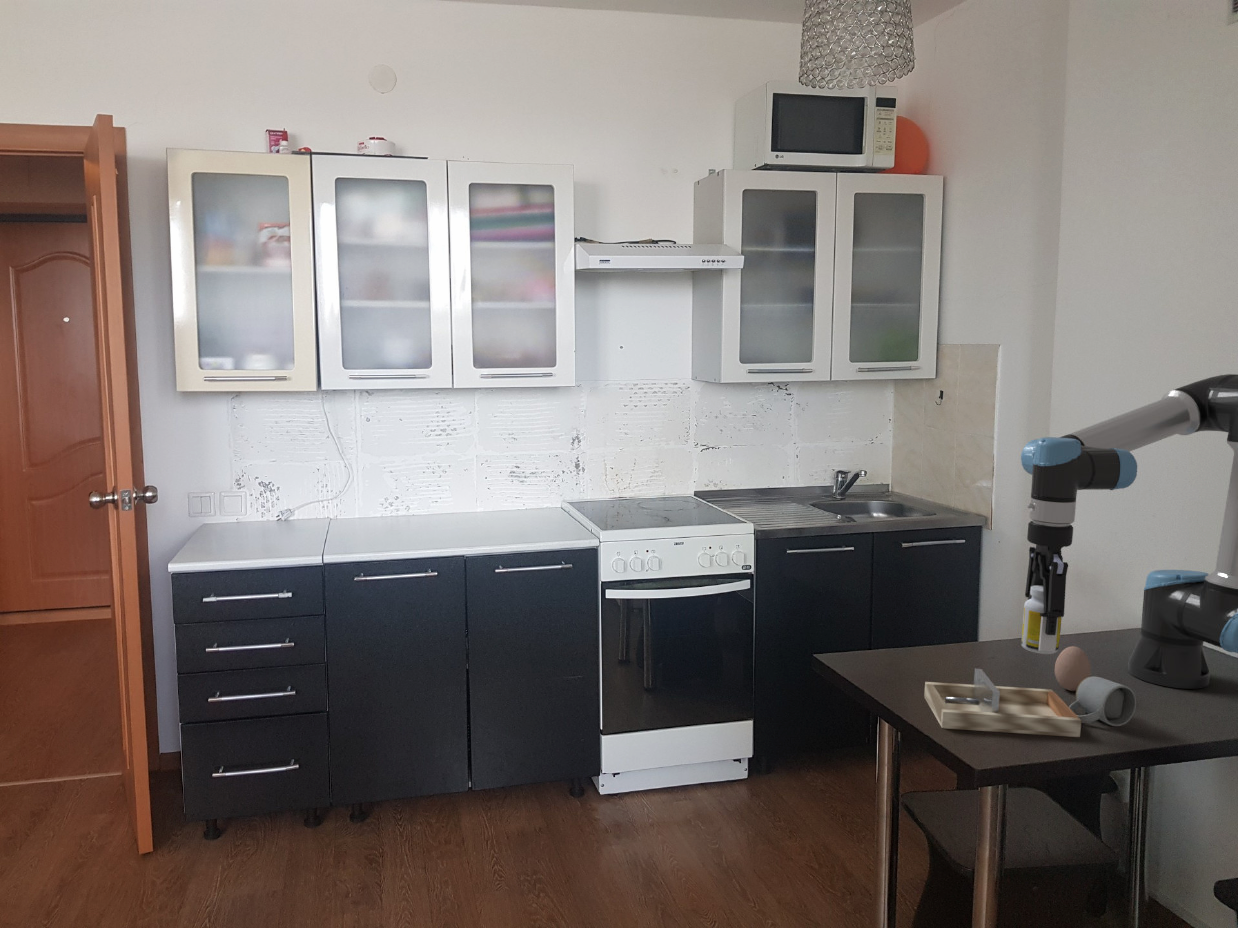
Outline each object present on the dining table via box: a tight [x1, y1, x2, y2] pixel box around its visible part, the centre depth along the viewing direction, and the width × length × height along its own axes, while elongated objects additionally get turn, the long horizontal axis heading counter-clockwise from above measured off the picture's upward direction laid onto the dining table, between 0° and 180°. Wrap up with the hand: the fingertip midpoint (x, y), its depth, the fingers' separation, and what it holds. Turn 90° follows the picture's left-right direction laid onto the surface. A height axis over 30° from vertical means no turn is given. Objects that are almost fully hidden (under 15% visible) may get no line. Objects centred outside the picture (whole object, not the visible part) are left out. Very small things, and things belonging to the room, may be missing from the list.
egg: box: [1054, 645, 1092, 692], centre depth 194 cm, size 7×7×9 cm
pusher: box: [945, 668, 1000, 713], centre depth 180 cm, size 8×12×6 cm, turn 174°
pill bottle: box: [1020, 585, 1063, 655], centre depth 177 cm, size 6×6×12 cm
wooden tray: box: [923, 681, 1082, 738], centre depth 180 cm, size 24×15×3 cm, turn 84°
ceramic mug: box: [1068, 675, 1137, 727], centre depth 180 cm, size 11×8×8 cm
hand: (1040, 644), depth 178 cm, fingers closed on pill bottle, 6 cm apart
